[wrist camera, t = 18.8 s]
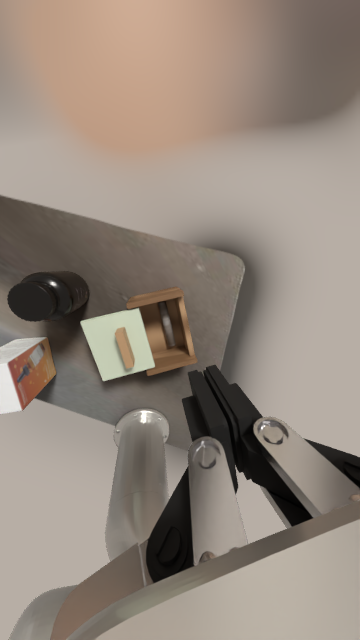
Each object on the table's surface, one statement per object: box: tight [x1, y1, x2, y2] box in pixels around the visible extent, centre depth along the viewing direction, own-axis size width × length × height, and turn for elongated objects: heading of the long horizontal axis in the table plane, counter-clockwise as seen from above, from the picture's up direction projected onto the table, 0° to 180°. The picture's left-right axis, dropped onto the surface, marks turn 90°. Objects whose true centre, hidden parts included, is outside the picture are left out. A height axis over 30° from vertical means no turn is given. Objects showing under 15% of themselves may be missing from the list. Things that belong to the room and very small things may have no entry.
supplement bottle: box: [7, 271, 89, 322], centre depth 27 cm, size 7×7×12 cm
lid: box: [80, 307, 155, 381], centre depth 29 cm, size 11×9×3 cm
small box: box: [0, 337, 56, 414], centre depth 30 cm, size 8×6×10 cm
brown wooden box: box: [126, 287, 197, 376], centre depth 34 cm, size 13×9×7 cm
